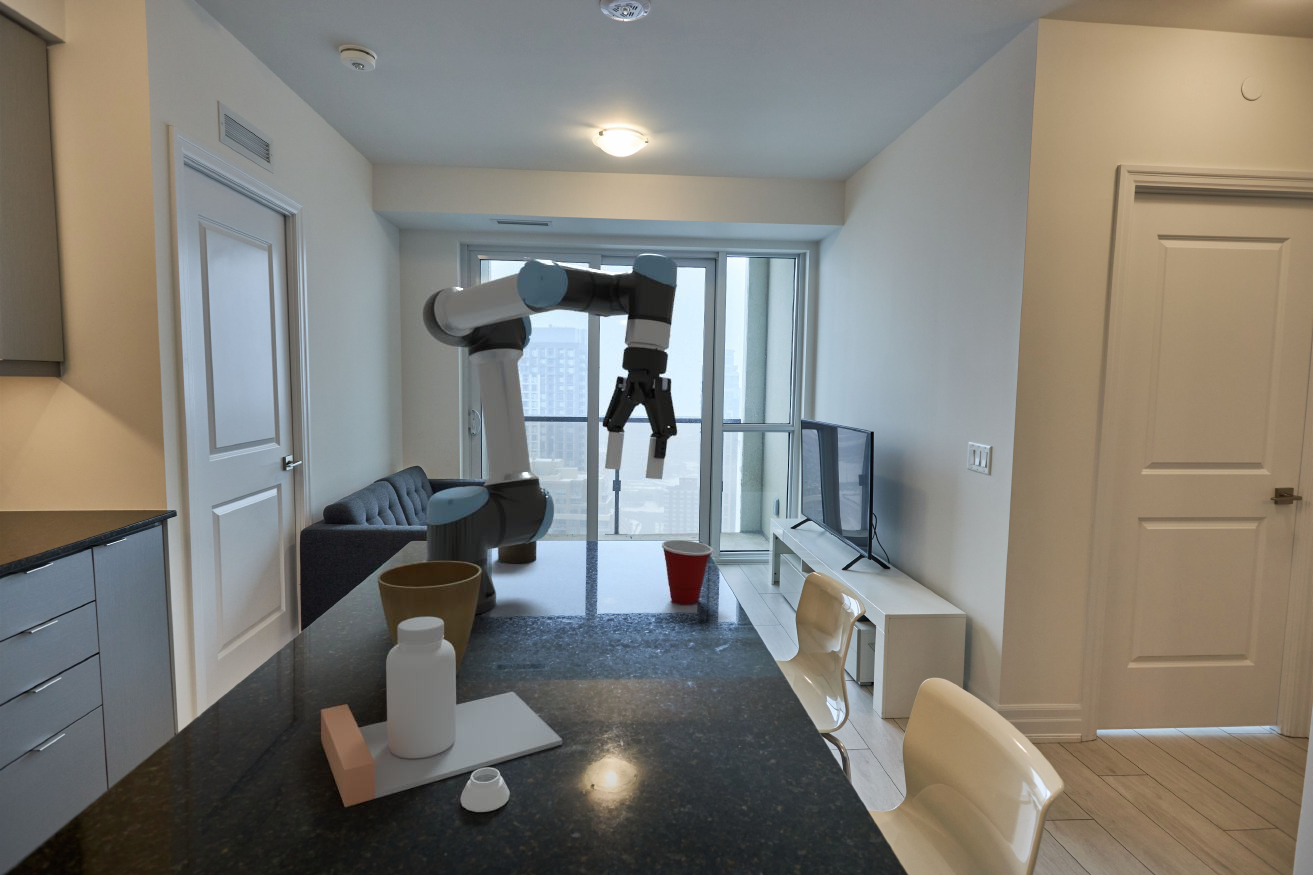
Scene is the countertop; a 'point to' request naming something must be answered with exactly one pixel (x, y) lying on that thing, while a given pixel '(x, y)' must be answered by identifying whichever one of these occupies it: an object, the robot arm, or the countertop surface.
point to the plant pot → (433, 598)
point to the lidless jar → (485, 791)
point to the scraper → (480, 741)
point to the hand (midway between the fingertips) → (632, 473)
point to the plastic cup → (685, 569)
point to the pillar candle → (518, 553)
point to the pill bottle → (421, 690)
